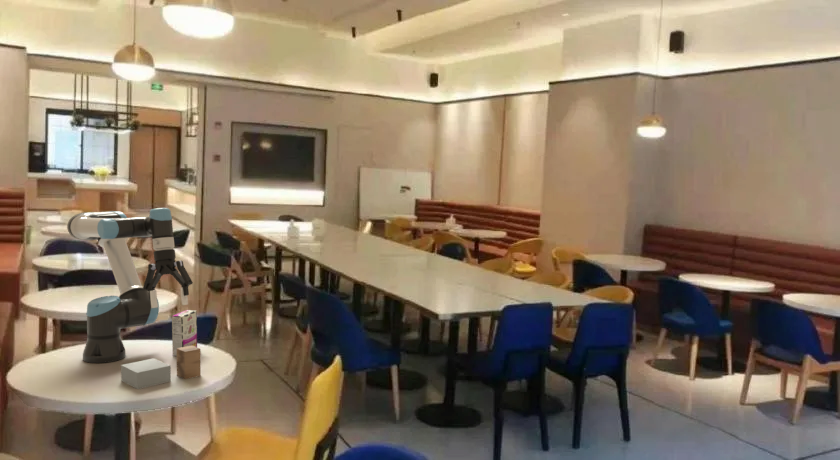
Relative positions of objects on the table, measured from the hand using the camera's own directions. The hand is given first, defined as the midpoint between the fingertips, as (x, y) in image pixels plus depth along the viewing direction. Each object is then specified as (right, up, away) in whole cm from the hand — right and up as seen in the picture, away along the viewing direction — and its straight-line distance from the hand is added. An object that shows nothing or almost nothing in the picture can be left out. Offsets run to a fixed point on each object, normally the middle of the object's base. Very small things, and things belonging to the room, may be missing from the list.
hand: (169, 306), depth 257 cm
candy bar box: (-1, -21, +21) cm, 30 cm away
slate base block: (-3, -25, -15) cm, 29 cm away
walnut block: (+9, -24, -7) cm, 27 cm away
